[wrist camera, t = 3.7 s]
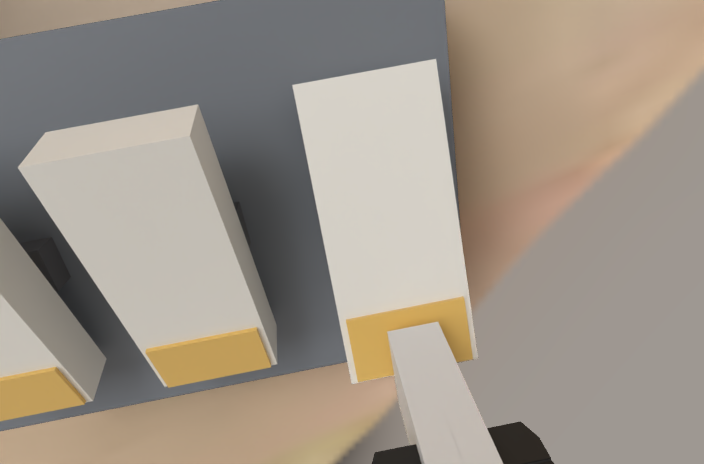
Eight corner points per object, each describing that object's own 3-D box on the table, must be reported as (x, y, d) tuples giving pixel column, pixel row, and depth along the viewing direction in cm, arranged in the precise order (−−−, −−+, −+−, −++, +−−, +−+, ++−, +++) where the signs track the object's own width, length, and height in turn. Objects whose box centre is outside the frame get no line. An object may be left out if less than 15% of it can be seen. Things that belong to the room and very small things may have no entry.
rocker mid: (45, 132, 12) (15, 171, 11) (198, 104, 13) (188, 138, 11) (172, 345, 18) (163, 390, 17) (276, 325, 18) (277, 367, 17)
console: (-110, 65, 18) (-284, 87, 13) (412, -28, 19) (460, -45, 13) (48, 354, 24) (-24, 453, 19) (441, 277, 25) (482, 351, 19)
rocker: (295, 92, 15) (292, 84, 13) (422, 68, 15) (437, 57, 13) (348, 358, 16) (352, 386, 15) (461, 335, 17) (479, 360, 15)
